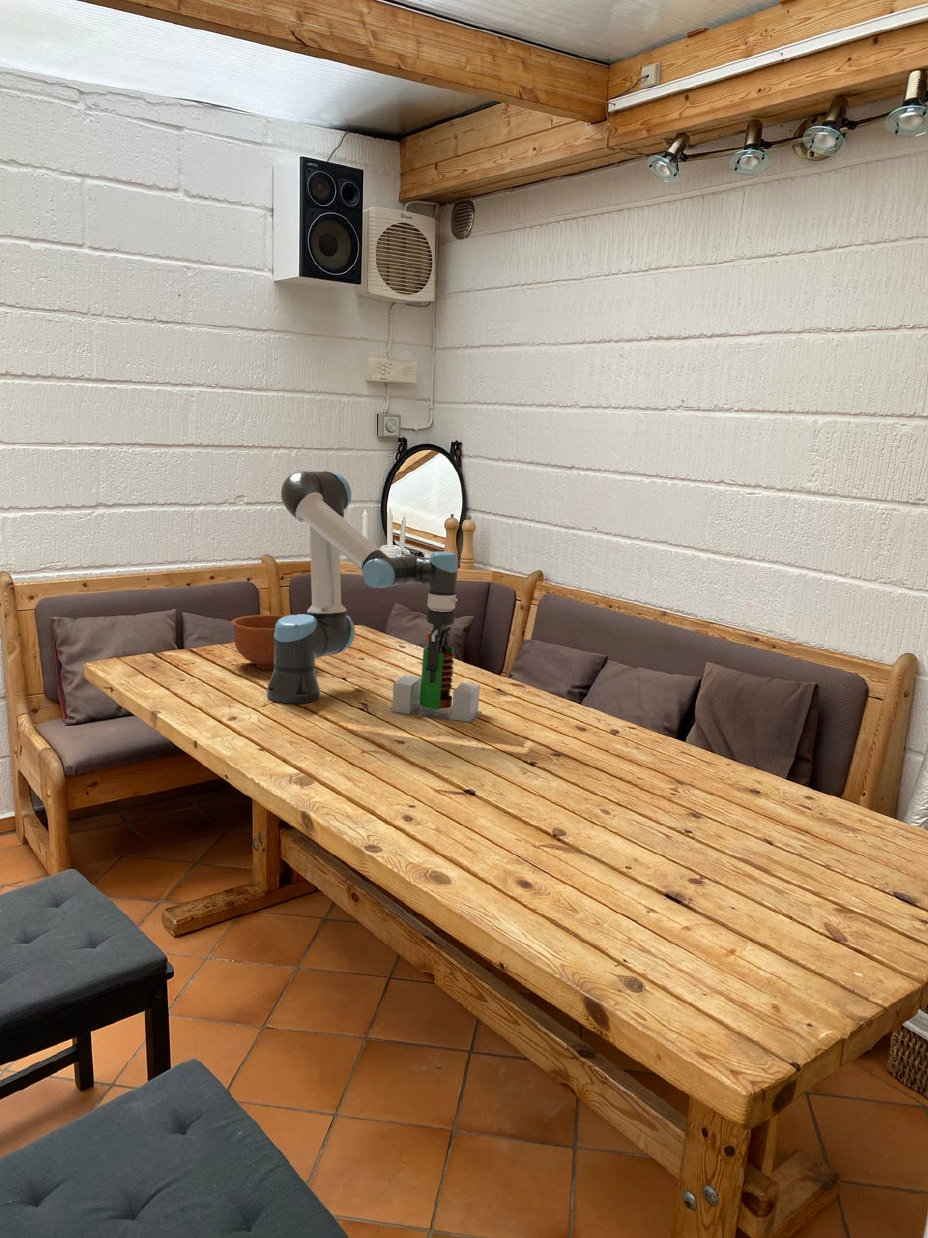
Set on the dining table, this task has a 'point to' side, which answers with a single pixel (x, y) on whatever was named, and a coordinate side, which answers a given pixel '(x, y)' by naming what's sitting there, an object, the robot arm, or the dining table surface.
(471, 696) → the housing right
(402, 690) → the block
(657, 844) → the dining table surface
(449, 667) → the motor
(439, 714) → the rail plate
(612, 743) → the dining table surface
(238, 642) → the bowl
